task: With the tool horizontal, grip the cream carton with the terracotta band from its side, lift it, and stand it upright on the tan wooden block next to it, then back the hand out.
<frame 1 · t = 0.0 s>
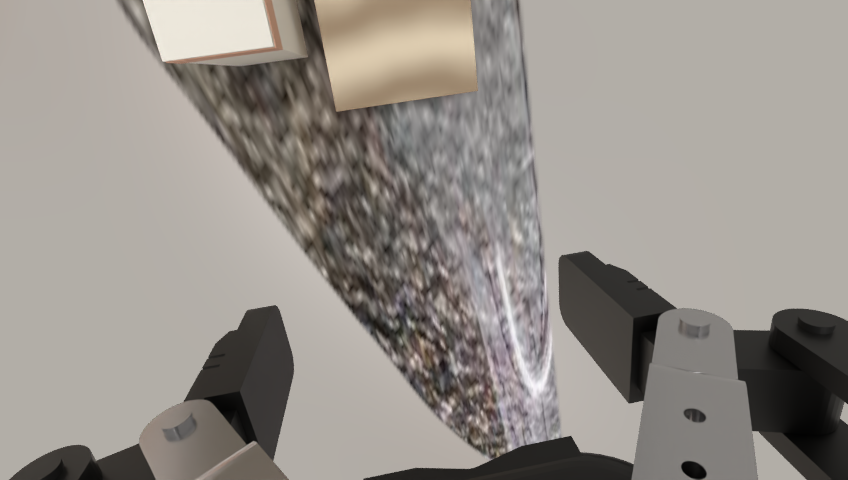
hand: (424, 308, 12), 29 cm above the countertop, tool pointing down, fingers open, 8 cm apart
carton: (265, 24, 35), on the countertop
tan wooden block: (389, 8, 36), on the countertop
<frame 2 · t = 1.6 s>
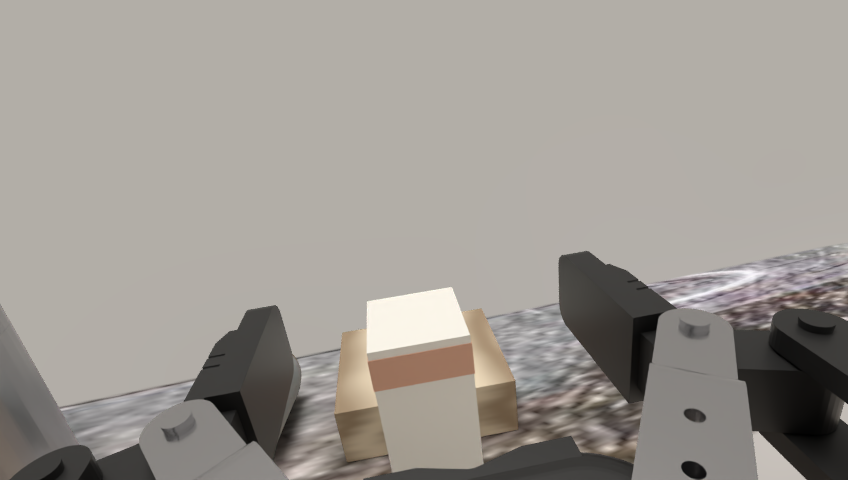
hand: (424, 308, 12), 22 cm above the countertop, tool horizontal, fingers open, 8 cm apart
tan wooden block: (425, 398, 40), on the countertop
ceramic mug: (246, 433, 40), on the countertop
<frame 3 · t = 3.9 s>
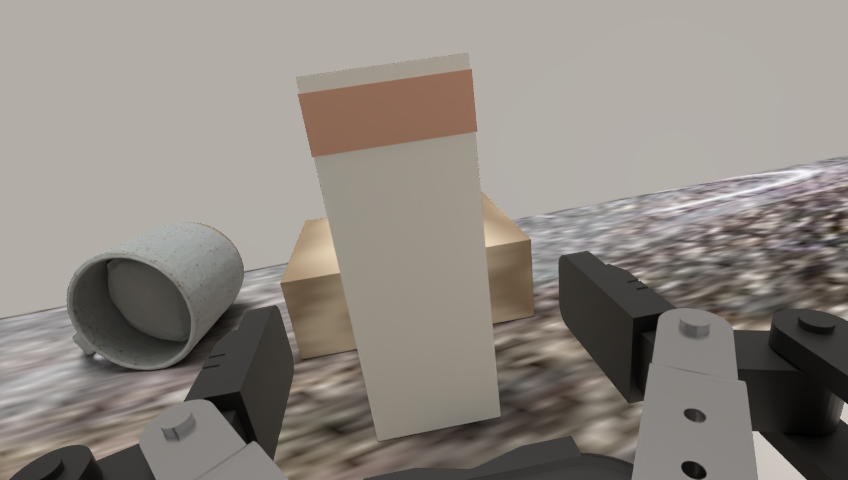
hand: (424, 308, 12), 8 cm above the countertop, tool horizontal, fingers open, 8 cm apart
carton: (431, 387, 22), on the countertop
tan wooden block: (411, 294, 31), on the countertop
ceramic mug: (168, 341, 30), on the countertop
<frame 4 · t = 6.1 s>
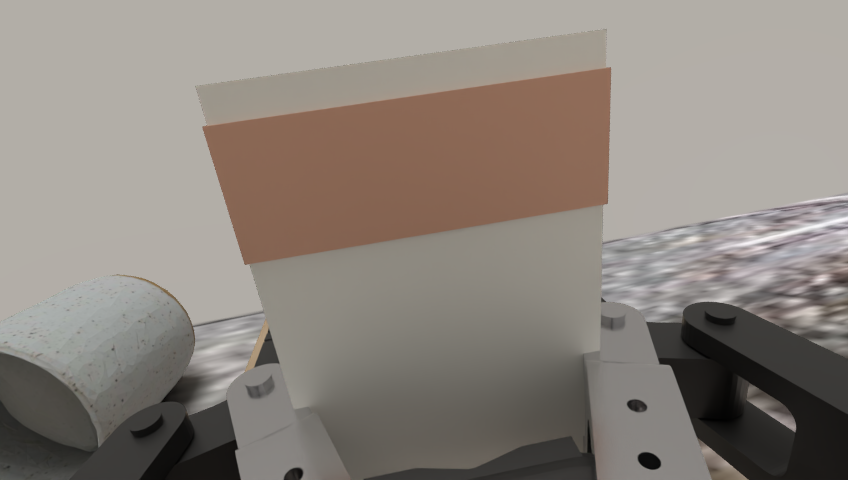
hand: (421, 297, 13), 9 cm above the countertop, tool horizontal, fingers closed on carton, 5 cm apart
tan wooden block: (426, 371, 23), on the countertop
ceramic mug: (87, 438, 22), on the countertop
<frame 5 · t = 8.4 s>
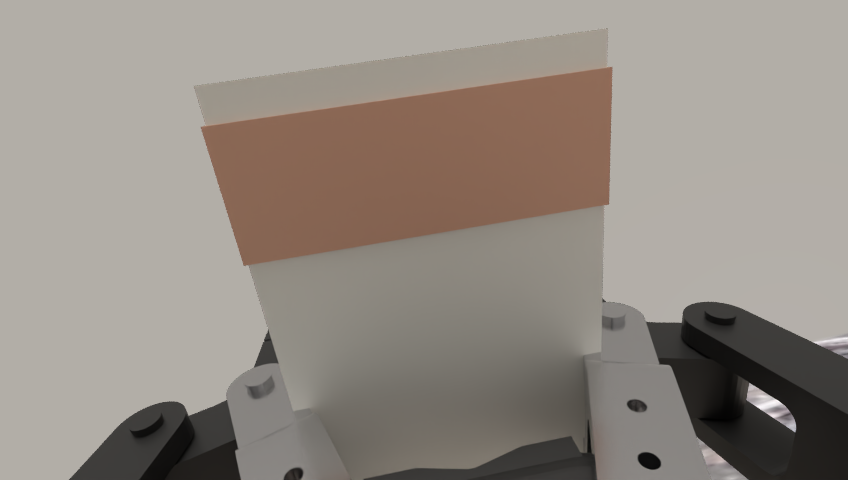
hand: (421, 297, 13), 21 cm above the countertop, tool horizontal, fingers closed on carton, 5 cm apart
when the fingers open (14 cm above the countertop, at t = 10.9 s): carton stays where it is, resting on tan wooden block.
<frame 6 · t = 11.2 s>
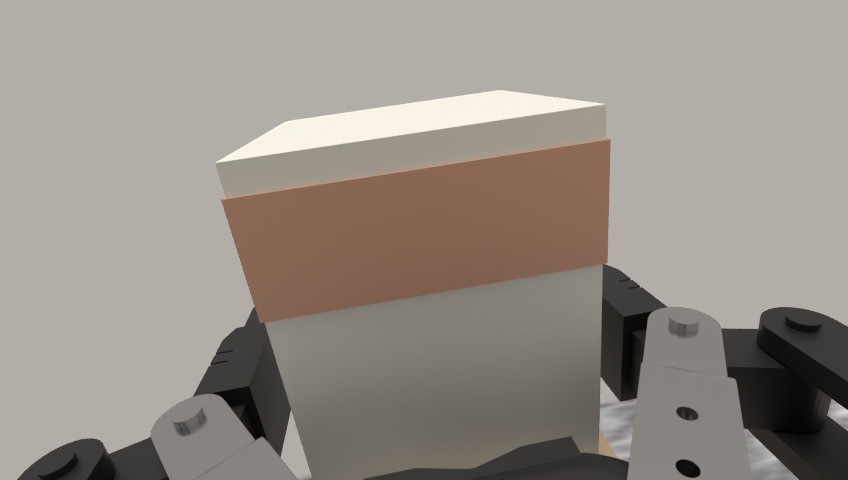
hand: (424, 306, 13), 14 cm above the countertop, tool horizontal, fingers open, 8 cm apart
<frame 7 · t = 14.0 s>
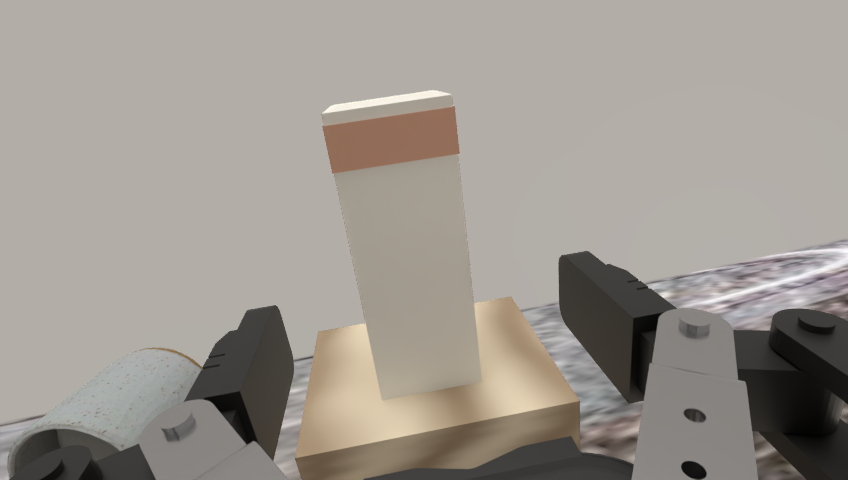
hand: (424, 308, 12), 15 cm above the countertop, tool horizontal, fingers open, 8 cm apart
carton: (426, 360, 26), point 5 cm above the countertop, touching tan wooden block
tan wooden block: (436, 424, 28), on the countertop
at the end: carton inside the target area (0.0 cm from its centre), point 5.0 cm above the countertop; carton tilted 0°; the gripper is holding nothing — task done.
